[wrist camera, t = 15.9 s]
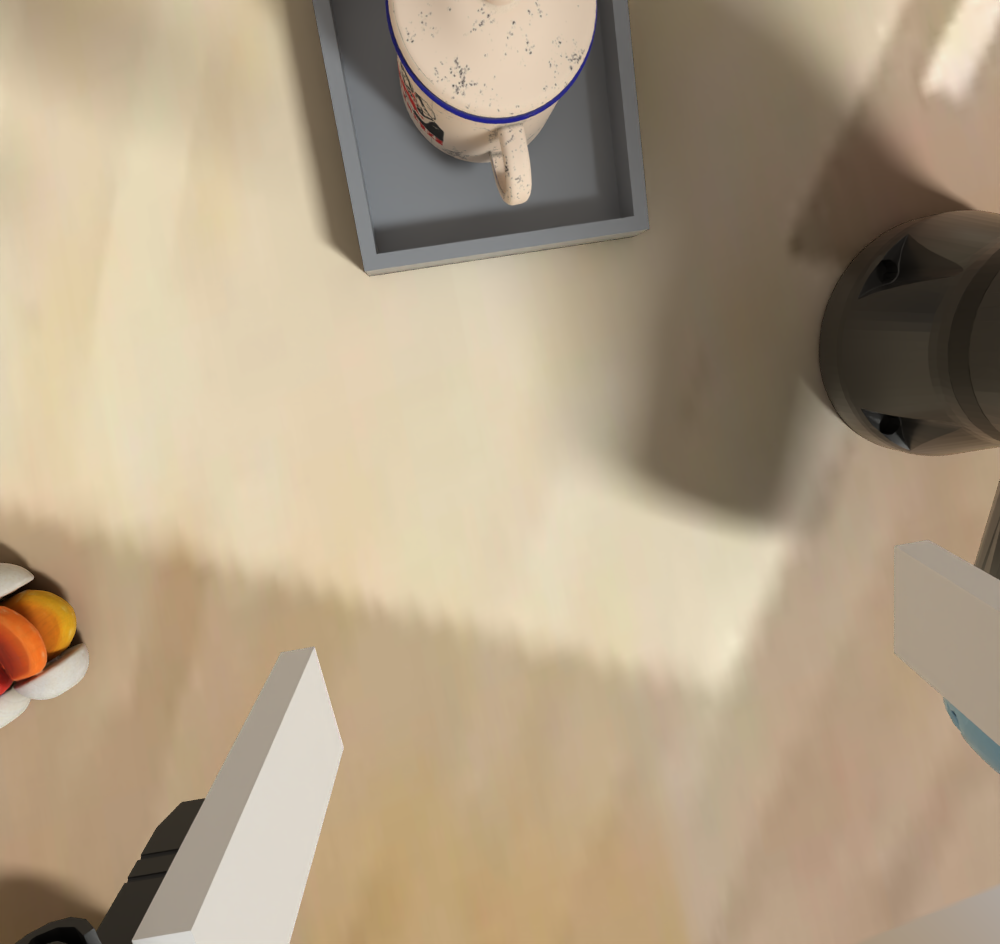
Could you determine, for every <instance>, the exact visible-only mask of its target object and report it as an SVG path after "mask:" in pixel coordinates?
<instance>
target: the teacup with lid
mask: <svg viewBox="0 0 1000 944" xmlns="http://www.w3.org/2000/svg"><path fill="white" fill-rule="evenodd" d="M385 6H386V16H387V22H388V27H389V31H390V35H391V38H392V42H393V44H394V47H395V50H396V53H397V62H398V70H399V79H400V87H401V92H402V96H403V100H404V103H405V106H406V108H407V111H408V113H409V115H410V117H411V119H412V120H413V122H414V124H415V125H416V127H417V128H418V130H419V131H420V132H421V133H422V135H423V136H424V137H425V138H426V139H427V140H428V141H429V142H430V143H431V144H433V145H434V146H435V147H436V148H438V149H439V150H441V151H442V152H444V153H446V154H448V155H450V156H452V157H454V158H457V159H460V160H464V161H468V162H476V163H487V162H491V165H492V170H493V174H494V178H495V181H496V185H497V188H498V191H499V193H500V195H501V197H502V199H503V200H504V201H505V202H506V203H507V204H508V205H518V204H522V203H524V202H526V201H527V200H528V198H529V196H530V193H531V186H532V180H531V166H530V158H529V152H528V147H527V145H528V144H529V143H530V142H531V141H532V140H533V139H534V138H535V137H536V136H537V135H538V134H539V132H540V131H541V129H542V128H543V126H544V125H545V123H546V121H547V119H548V118H549V116H550V114H551V112H552V111H553V109H554V107H555V105H556V104H557V102H558V100H559V99H560V98H561V97H562V96H563V95H564V94H565V93H566V92H567V91H568V90H569V88H570V87H571V86H572V85H573V83H574V82H575V80H576V79H577V77H578V76H579V74H580V72H581V71H582V69H583V67H584V65H585V63H586V60H587V58H588V56H589V53H590V50H591V47H592V43H593V39H594V35H595V29H596V21H597V0H385Z"/></svg>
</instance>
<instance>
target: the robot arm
mask: <svg viewBox="0 0 1000 944" xmlns="http://www.w3.org/2000/svg"><path fill="white" fill-rule="evenodd" d="M819 352H820V367H821V373H822V378H823V382H824V385H825V388H826V391H827V393H828V396H829V398H830V400H831V402H832V404H833V406H834V408H835V409H836V411H837V412H838V414H839V415H840V417H841V418H842V419H843V420H844V421H845V422H846V424H847V425H848V426H849V427H850V428H852V429H853V430H854V431H855V432H856V433H858V434H859V435H860V436H862V437H863V438H865V439H867V440H869V441H871V442H873V443H875V444H877V445H880V446H883V447H886V448H890V449H894V450H898V451H902V452H906V453H910V454H916V455H925V456H944V455H952V454H959V453H965V452H971V451H977V450H984V449H990V448H996V447H1000V214H997V213H992V212H986V211H977V210H963V211H951V212H945V213H940V214H936V215H931V216H927V217H923V218H919V219H915V220H911V221H909V222H906V223H903V224H901V225H899V226H896V227H894V228H893V229H891V230H889V231H887V232H885V233H884V234H882V235H881V236H879V237H878V238H877V239H875V240H874V241H873V242H871V243H870V244H869V245H868V246H867V247H866V248H865V249H864V250H862V251H861V252H860V253H859V254H858V256H857V257H856V258H855V259H854V260H853V261H852V262H851V264H850V265H849V266H848V268H847V269H846V270H845V272H844V273H843V275H842V276H841V278H840V280H839V281H838V283H837V285H836V287H835V289H834V291H833V293H832V295H831V298H830V300H829V302H828V305H827V308H826V311H825V315H824V318H823V323H822V328H821V335H820V347H819ZM894 654H896V655H897V656H898V657H899V658H900V659H901V660H902V661H904V662H905V663H906V664H907V665H908V666H909V667H910V668H911V669H913V670H914V671H915V672H916V673H917V674H918V675H919V676H921V677H922V678H923V679H924V680H925V681H926V682H927V683H928V684H930V685H931V686H932V687H933V688H934V689H935V690H936V691H938V692H939V693H940V694H941V695H942V696H943V700H944V704H945V707H946V710H947V712H948V714H949V716H950V717H951V719H952V721H953V723H954V724H955V726H956V727H957V728H958V729H959V730H960V731H961V734H962V736H963V738H964V739H965V740H966V742H967V743H968V744H969V745H970V746H971V748H972V749H973V750H974V751H975V752H976V753H977V754H978V755H979V756H980V757H981V758H982V759H983V760H984V761H985V762H986V763H987V764H989V765H990V766H991V767H992V768H993V769H994V770H995V771H996V772H997V773H999V774H1000V481H999V484H998V487H997V490H996V494H995V497H994V500H993V504H992V507H991V511H990V514H989V517H988V521H987V524H986V527H985V531H984V534H983V537H982V541H981V544H980V547H979V551H978V554H977V557H976V561H975V564H974V565H972V564H970V563H968V562H967V561H965V560H963V559H961V558H960V557H958V556H956V555H954V554H953V553H951V552H949V551H947V550H946V549H944V548H942V547H940V546H938V545H937V544H935V543H933V542H931V541H930V540H925V541H919V542H914V543H908V544H902V545H896V546H894ZM343 749H344V747H343V744H342V740H341V737H340V733H339V730H338V726H337V723H336V719H335V716H334V712H333V709H332V705H331V702H330V699H329V695H328V692H327V688H326V685H325V681H324V678H323V674H322V671H321V667H320V664H319V660H318V657H317V653H316V650H315V647H310V648H304V649H298V650H292V651H287V652H281V653H280V655H279V657H278V659H277V661H276V663H275V665H274V667H273V669H272V671H271V673H270V675H269V677H268V679H267V680H266V682H265V684H264V686H263V688H262V690H261V692H260V694H259V696H258V698H257V700H256V702H255V704H254V706H253V707H252V709H251V711H250V713H249V715H248V717H247V719H246V721H245V723H244V725H243V727H242V729H241V731H240V733H239V734H238V736H237V738H236V740H235V742H234V744H233V746H232V748H231V750H230V752H229V754H228V756H227V758H226V760H225V761H224V763H223V765H222V767H221V769H220V771H219V773H218V775H217V777H216V779H215V781H214V783H213V785H212V787H211V788H210V790H209V792H208V794H207V796H206V798H204V799H198V800H192V801H186V802H181V803H180V804H179V805H178V806H177V807H176V808H175V809H174V811H173V812H172V813H171V814H170V815H169V816H168V817H167V818H166V819H165V820H164V821H163V822H162V823H161V824H160V825H159V826H158V827H157V828H156V830H155V831H154V833H153V835H152V837H151V838H150V840H149V842H148V843H147V845H146V847H145V849H144V850H143V852H142V854H141V860H138V861H137V862H136V864H135V866H134V868H133V869H132V871H131V873H130V874H129V876H128V882H127V883H124V885H123V887H122V888H121V890H120V892H119V893H118V895H117V897H116V899H115V900H114V902H113V904H112V906H111V907H110V909H109V911H108V912H107V914H106V916H105V918H104V919H103V921H102V923H101V924H100V926H99V928H98V930H97V931H95V929H94V928H93V926H92V925H91V924H90V923H89V922H88V921H87V920H86V919H81V918H73V917H69V918H66V919H62V920H58V921H54V922H50V923H48V924H46V925H45V926H43V927H41V928H39V929H37V930H35V931H33V932H31V933H29V934H27V935H26V936H25V937H23V938H22V939H21V940H19V941H18V942H17V943H16V944H289V943H290V940H291V936H292V932H293V929H294V925H295V921H296V918H297V914H298V911H299V907H300V903H301V900H302V896H303V893H304V889H305V885H306V882H307V878H308V875H309V871H310V867H311V864H312V860H313V857H314V853H315V849H316V846H317V842H318V839H319V835H320V831H321V828H322V824H323V821H324V817H325V813H326V810H327V806H328V803H329V799H330V795H331V792H332V788H333V785H334V781H335V777H336V774H337V770H338V767H339V763H340V759H341V756H342V752H343Z"/></svg>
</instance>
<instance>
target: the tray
mask: <svg viewBox="0 0 1000 944" xmlns="http://www.w3.org/2000/svg"><path fill="white" fill-rule="evenodd" d="M312 1H313V6H314V11H315V16H316V22H317V27H318V32H319V37H320V42H321V48H322V53H323V58H324V63H325V68H326V74H327V79H328V84H329V89H330V94H331V100H332V105H333V110H334V115H335V120H336V126H337V131H338V136H339V141H340V146H341V152H342V157H343V162H344V167H345V172H346V178H347V183H348V188H349V193H350V198H351V204H352V209H353V214H354V219H355V224H356V229H357V235H358V240H359V245H360V250H361V255H362V261H363V266H364V271H365V273H366V274H367V275H368V276H375V275H381V274H388V273H395V272H401V271H408V270H415V269H421V268H428V267H435V266H441V265H448V264H455V263H461V262H468V261H475V260H481V259H488V258H495V257H501V256H508V255H515V254H521V253H528V252H535V251H541V250H548V249H555V248H561V247H568V246H575V245H581V244H588V243H595V242H601V241H608V240H615V239H621V238H628V237H633V236H636V235H638V234H640V233H642V232H644V231H646V230H648V229H649V219H648V208H647V198H646V188H645V177H644V167H643V156H642V146H641V136H640V125H639V115H638V104H637V94H636V84H635V73H634V63H633V52H632V42H631V31H630V21H629V11H628V0H597V21H596V29H595V35H594V39H593V43H592V47H591V50H590V53H589V56H588V58H587V60H586V63H585V65H584V67H583V69H582V71H581V72H580V74H579V76H578V77H577V79H576V80H575V82H574V83H573V85H572V86H571V87H570V88H569V90H568V91H567V92H566V93H565V94H564V95H563V96H562V97H561V98H560V99H559V100H558V102H557V104H556V105H555V107H554V109H553V111H552V112H551V114H550V116H549V118H548V119H547V121H546V123H545V125H544V126H543V128H542V129H541V131H540V132H539V134H538V135H537V136H536V137H535V138H534V139H533V140H532V141H531V142H530V143H529V144H528V145H527V147H528V152H529V158H530V166H531V180H532V186H531V193H530V196H529V198H528V200H527V201H526V202H524V203H522V204H518V205H508V204H507V203H506V202H505V201H504V200H503V199H502V197H501V195H500V193H499V191H498V188H497V185H496V181H495V178H494V174H493V170H492V165H491V162H487V163H476V162H468V161H464V160H460V159H457V158H454V157H452V156H450V155H448V154H446V153H444V152H442V151H441V150H439V149H438V148H436V147H435V146H434V145H433V144H431V143H430V142H429V141H428V140H427V139H426V138H425V137H424V136H423V135H422V133H421V132H420V131H419V130H418V128H417V127H416V125H415V124H414V122H413V120H412V119H411V117H410V115H409V113H408V111H407V108H406V106H405V103H404V100H403V96H402V92H401V87H400V79H399V70H398V62H397V53H396V50H395V47H394V44H393V42H392V38H391V35H390V31H389V27H388V22H387V16H386V6H385V0H312Z"/></svg>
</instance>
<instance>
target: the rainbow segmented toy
mask: <svg viewBox="0 0 1000 944" xmlns="http://www.w3.org/2000/svg"><path fill="white" fill-rule="evenodd" d="M33 579H34V576H33V574H32V573H30V572H29V571H28V570H26V569H25V568H23V567H21V566H18V565H14V564H10V563H0V599H1V598H2V597H3V596H5V595H9V594H11V593H13V592H15V591H16V590H17V589H18V588H20V587H21V586H23V585H25V584H27V583H28V582H30V581H31V580H33ZM75 631H76V616H75V612H74V610H73V608H72V606H71V605H70V604H69V603H68V602H67V601H65V600H64V599H63V598H61V597H59V596H57V595H55V594H53V593H50V592H47V591H41V590H25V591H23V592H20V593H18V594H16V595H14V596H13V597H11V598H9V599H6V600H4V601H2V602H1V603H0V728H2V727H4V726H5V725H7V724H8V723H10V722H11V721H13V720H14V719H15V718H17V717H18V716H19V715H20V714H22V713H23V712H24V711H25V710H26V708H27V707H28V705H29V703H30V700H31V699H37V700H44V699H51V698H54V697H57V696H59V695H60V694H62V693H64V692H65V691H67V690H69V689H70V688H71V687H73V686H74V685H75V684H77V683H78V682H79V681H80V680H81V679H82V678H83V677H84V675H85V673H86V671H87V668H88V665H89V653H88V649H87V647H86V645H85V644H84V643H81V644H78V645H75V646H73V647H71V648H69V649H67V648H68V647H69V645H70V642H71V641H72V639H73V637H74V634H75ZM66 649H67V650H66Z"/></svg>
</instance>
